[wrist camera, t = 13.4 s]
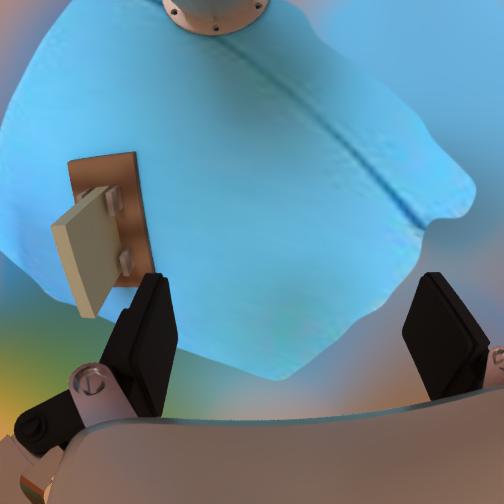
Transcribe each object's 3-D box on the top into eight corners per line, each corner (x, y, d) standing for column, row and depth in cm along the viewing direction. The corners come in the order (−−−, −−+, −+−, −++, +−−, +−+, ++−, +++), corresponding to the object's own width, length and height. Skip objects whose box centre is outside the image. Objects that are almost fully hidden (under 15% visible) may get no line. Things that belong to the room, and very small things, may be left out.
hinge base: (71, 160, 37) (55, 169, 34) (135, 151, 37) (123, 159, 34) (100, 282, 47) (90, 297, 44) (157, 282, 47) (150, 299, 44)
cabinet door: (90, 187, 38) (43, 226, 28) (109, 185, 38) (65, 225, 28) (107, 264, 44) (75, 316, 34) (125, 264, 44) (95, 318, 34)
